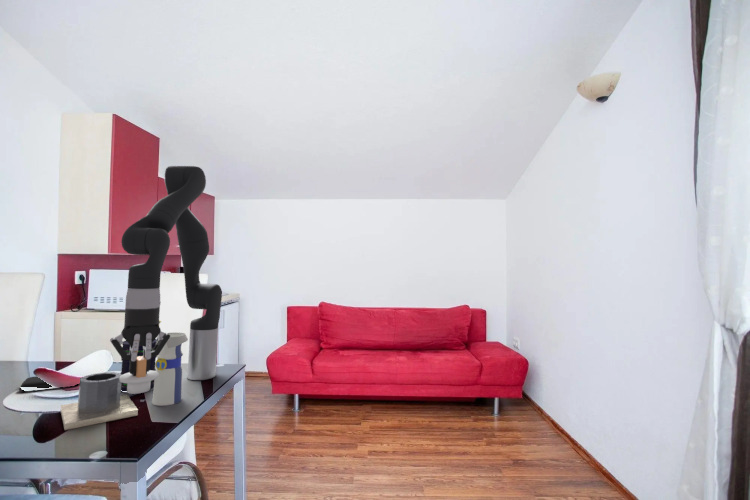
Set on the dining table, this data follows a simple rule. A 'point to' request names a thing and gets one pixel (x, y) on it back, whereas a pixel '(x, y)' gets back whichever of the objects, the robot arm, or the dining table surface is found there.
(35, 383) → the carrying case or bag
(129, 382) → the white lid with handle
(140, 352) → the storage jar
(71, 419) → the grey container on board
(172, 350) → the white plastic tall bottle
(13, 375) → the dining table surface
